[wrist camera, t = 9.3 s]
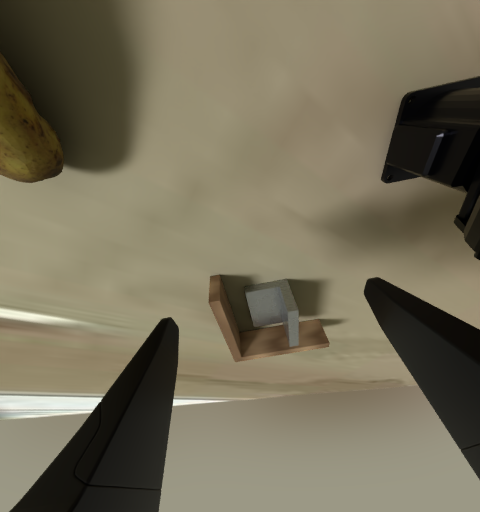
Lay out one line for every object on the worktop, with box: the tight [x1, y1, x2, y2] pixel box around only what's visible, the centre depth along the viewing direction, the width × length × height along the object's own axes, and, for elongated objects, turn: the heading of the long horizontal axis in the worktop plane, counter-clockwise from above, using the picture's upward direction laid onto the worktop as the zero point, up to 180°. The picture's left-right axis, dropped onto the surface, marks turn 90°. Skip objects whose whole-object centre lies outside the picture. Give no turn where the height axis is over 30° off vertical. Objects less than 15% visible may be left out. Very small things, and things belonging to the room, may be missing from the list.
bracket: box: [245, 279, 299, 347], centre depth 26 cm, size 8×6×5 cm
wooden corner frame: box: [209, 275, 329, 362], centre depth 26 cm, size 14×15×4 cm
